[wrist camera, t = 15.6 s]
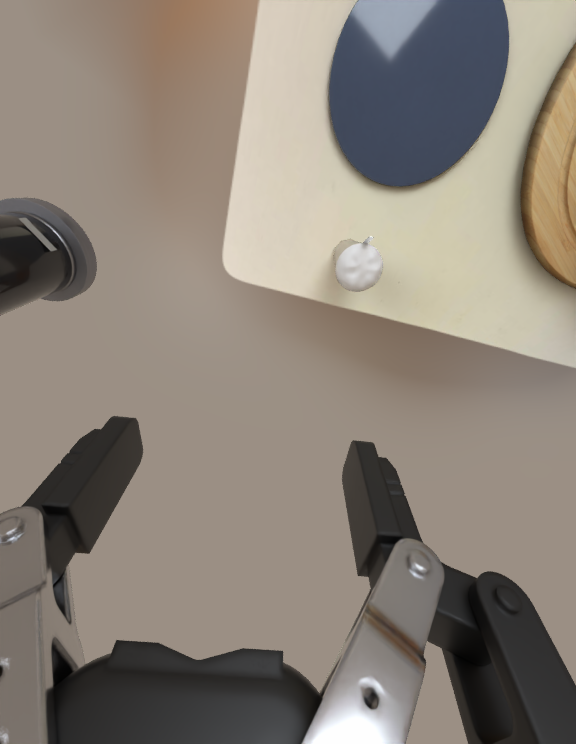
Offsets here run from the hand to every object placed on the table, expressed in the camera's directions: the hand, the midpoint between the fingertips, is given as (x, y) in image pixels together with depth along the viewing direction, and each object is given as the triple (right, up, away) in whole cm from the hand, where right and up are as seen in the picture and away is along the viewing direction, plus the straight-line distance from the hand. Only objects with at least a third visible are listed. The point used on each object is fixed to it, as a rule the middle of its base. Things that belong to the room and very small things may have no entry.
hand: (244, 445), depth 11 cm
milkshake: (+9, +18, +25) cm, 31 cm away
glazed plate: (+13, +30, +17) cm, 37 cm away
